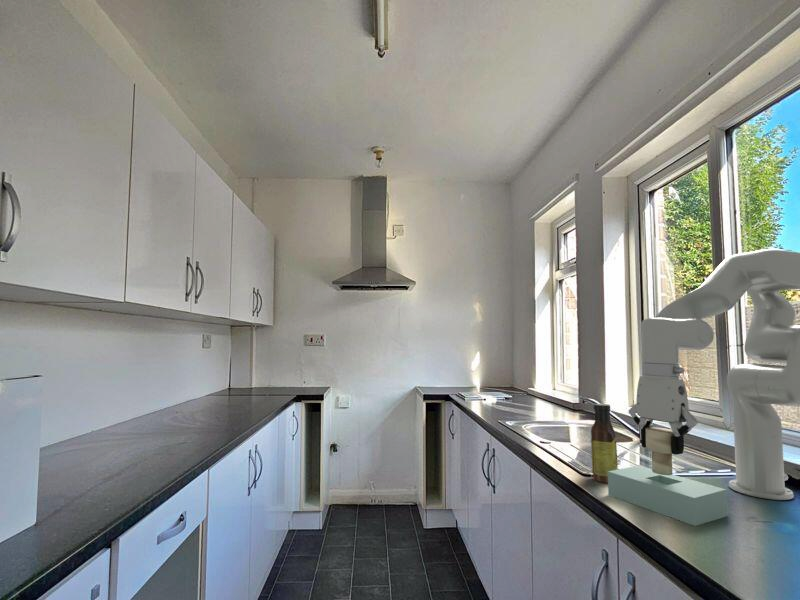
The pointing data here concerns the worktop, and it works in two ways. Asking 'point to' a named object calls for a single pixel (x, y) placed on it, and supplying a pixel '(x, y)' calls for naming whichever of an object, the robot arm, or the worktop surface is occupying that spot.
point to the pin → (660, 449)
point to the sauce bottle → (603, 444)
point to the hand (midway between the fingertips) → (661, 449)
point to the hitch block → (669, 494)
